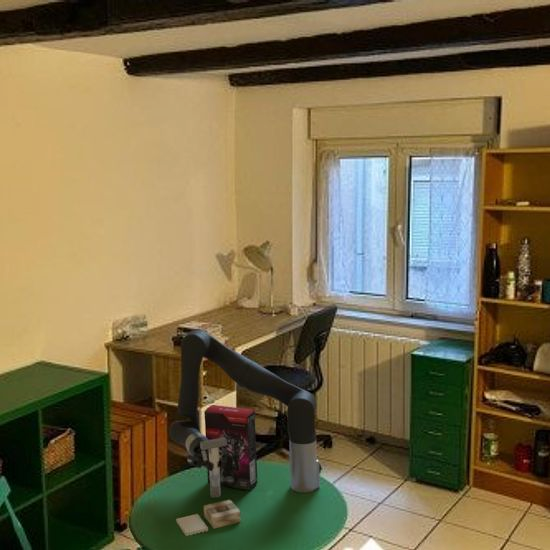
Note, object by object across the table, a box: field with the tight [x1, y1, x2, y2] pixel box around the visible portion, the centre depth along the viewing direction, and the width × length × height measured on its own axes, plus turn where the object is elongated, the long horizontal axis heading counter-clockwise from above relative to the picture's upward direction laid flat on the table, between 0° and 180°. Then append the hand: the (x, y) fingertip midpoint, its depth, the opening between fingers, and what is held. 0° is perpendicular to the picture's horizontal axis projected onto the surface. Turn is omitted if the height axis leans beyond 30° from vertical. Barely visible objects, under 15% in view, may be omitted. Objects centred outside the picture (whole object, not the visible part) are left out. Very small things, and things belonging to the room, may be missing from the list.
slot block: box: [203, 499, 242, 529], centre depth 226 cm, size 9×9×4 cm
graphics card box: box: [204, 404, 258, 491], centre depth 249 cm, size 17×7×27 cm, turn 68°
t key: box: [200, 437, 227, 498], centre depth 223 cm, size 8×3×18 cm, turn 114°
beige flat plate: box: [175, 513, 209, 537], centre depth 222 cm, size 7×10×1 cm
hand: (217, 466), depth 220 cm, fingers closed on t key, 3 cm apart
